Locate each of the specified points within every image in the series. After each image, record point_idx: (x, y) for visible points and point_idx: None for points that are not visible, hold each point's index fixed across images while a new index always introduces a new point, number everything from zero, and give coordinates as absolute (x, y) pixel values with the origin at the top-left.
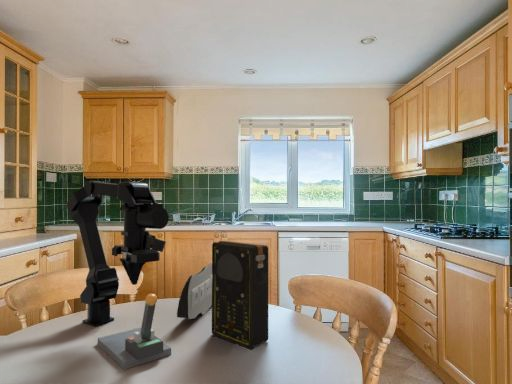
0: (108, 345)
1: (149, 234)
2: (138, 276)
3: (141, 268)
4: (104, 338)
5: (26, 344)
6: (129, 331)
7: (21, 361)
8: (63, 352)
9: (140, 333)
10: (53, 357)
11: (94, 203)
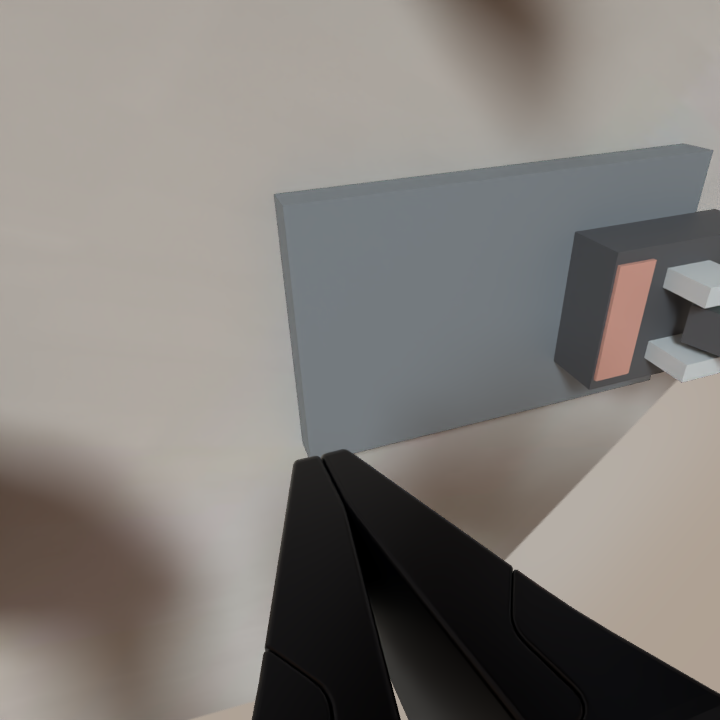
0: (448, 421)
1: None
2: (447, 529)
3: (629, 649)
4: (338, 433)
5: (105, 694)
6: (315, 293)
7: None
8: None
9: (697, 347)
10: None
11: None
